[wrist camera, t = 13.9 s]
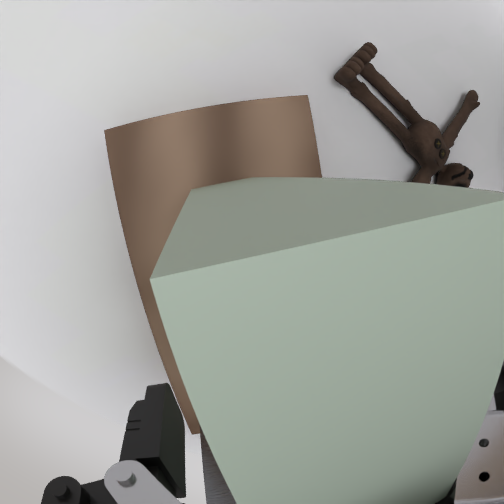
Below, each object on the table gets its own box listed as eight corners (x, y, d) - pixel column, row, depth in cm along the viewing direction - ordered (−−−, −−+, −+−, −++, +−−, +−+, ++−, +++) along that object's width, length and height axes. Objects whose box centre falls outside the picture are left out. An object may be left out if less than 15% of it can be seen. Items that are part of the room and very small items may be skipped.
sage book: (252, 177, 18) (523, 195, 2) (285, 369, 21) (389, 572, 6) (191, 189, 17) (149, 280, 2) (236, 381, 20) (298, 604, 5)
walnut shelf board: (297, 102, 19) (307, 95, 17) (331, 383, 25) (340, 397, 23) (112, 134, 17) (104, 130, 15) (191, 418, 23) (192, 434, 21)
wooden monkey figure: (412, -3, 16) (519, 128, 18) (388, 18, 20) (489, 133, 22) (271, 146, 17) (428, 295, 19) (261, 156, 21) (399, 281, 24)
